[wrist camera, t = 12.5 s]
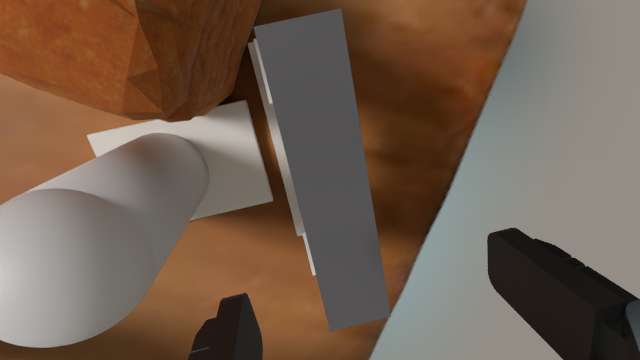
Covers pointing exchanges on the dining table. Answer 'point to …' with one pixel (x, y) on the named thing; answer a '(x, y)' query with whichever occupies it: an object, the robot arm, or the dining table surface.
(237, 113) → the display stand
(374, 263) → the gray bar
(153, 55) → the bread
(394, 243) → the dining table surface
